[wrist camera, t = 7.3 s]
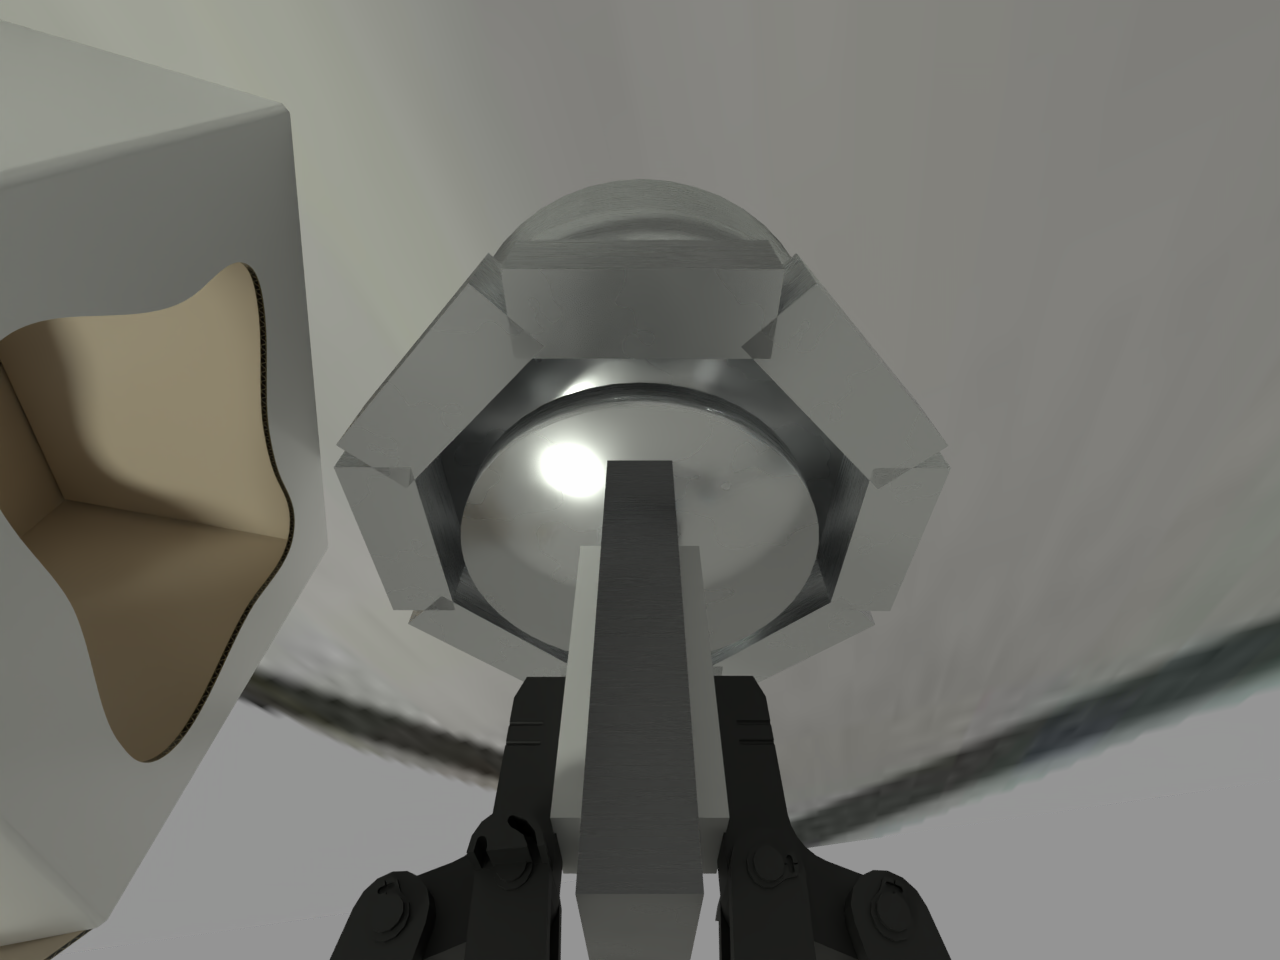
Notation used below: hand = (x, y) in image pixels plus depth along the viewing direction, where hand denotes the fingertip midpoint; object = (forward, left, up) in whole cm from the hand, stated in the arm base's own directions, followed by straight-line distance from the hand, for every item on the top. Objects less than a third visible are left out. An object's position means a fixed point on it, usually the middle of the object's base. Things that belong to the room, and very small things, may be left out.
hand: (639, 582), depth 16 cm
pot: (0, +3, -12) cm, 13 cm away
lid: (0, 0, -2) cm, 2 cm away
